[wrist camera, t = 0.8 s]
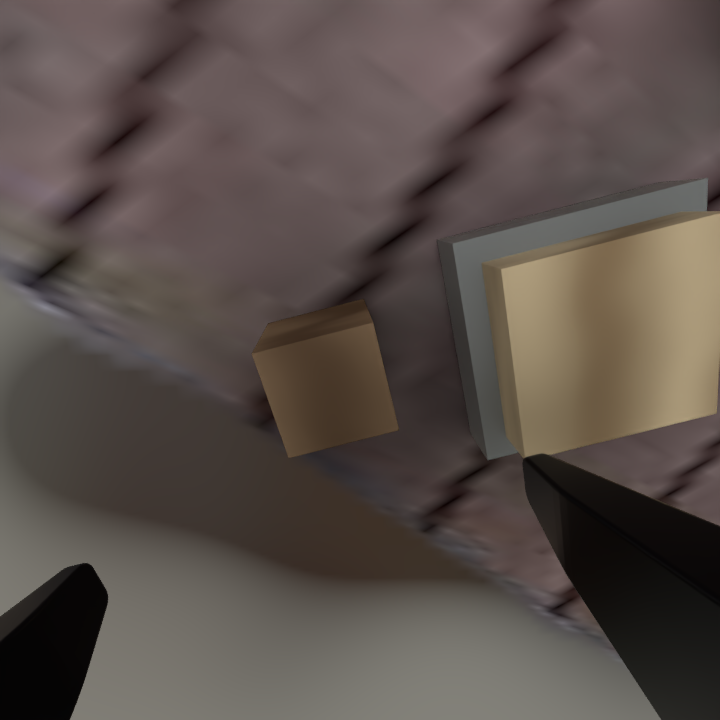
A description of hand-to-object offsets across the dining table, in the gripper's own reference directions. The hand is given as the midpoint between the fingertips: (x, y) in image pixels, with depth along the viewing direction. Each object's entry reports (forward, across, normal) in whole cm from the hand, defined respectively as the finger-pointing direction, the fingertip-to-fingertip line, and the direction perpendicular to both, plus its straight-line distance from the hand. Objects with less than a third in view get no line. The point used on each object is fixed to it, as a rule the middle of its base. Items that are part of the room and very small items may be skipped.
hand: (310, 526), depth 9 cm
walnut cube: (+12, 0, 0) cm, 12 cm away
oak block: (+10, -11, +1) cm, 15 cm away
